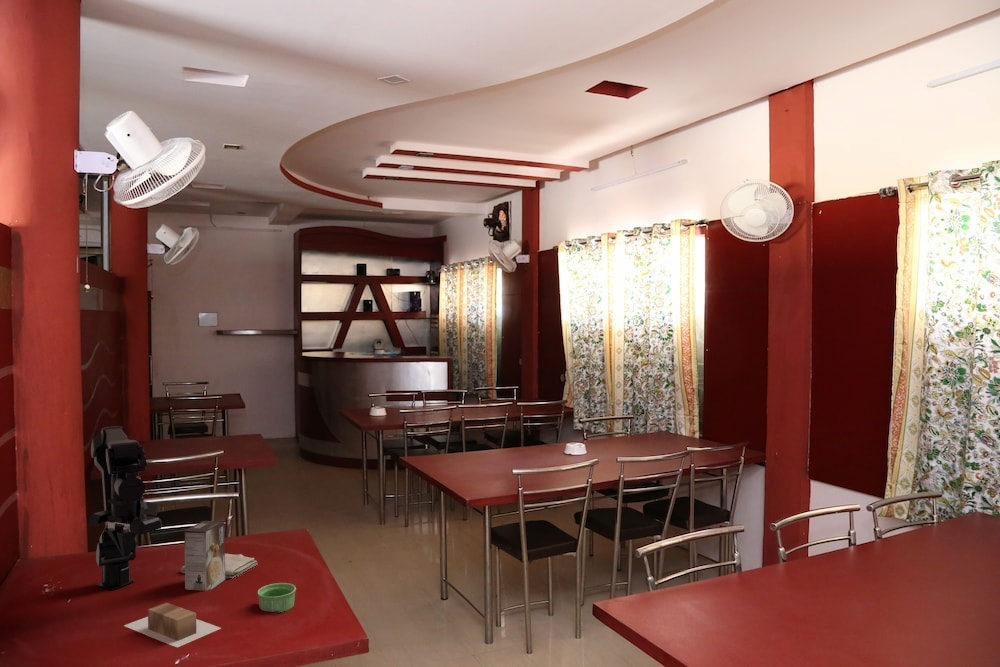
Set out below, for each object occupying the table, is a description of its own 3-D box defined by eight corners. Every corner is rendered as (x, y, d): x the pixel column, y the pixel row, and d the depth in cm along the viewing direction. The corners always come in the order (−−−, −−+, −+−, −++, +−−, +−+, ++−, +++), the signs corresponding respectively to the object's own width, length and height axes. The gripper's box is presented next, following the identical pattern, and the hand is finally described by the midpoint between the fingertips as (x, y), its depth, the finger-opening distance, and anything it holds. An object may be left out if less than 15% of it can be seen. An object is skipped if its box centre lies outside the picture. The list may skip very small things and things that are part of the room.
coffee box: (204, 578, 191) (203, 519, 191) (226, 580, 190) (225, 521, 190) (184, 591, 182) (183, 530, 182) (207, 593, 181) (206, 531, 181)
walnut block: (147, 609, 159) (177, 620, 153) (166, 602, 163) (196, 613, 157) (148, 629, 159) (177, 640, 153) (166, 621, 163) (196, 633, 157)
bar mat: (123, 628, 161) (123, 625, 161) (168, 611, 170) (168, 608, 170) (177, 650, 150) (177, 647, 150) (221, 630, 160) (221, 628, 160)
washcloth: (235, 581, 191) (234, 569, 191) (178, 575, 195) (178, 564, 195) (260, 566, 202) (260, 555, 202) (206, 561, 207) (206, 550, 207)
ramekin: (303, 603, 175) (303, 586, 175) (278, 617, 167) (278, 599, 167) (275, 597, 179) (275, 580, 179) (249, 611, 171) (249, 593, 170)
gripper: (179, 489, 177) (179, 551, 177) (127, 482, 185) (127, 541, 185) (140, 500, 167) (141, 565, 167) (87, 492, 174) (88, 554, 175)
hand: (125, 556), depth 174 cm, fingers closed
